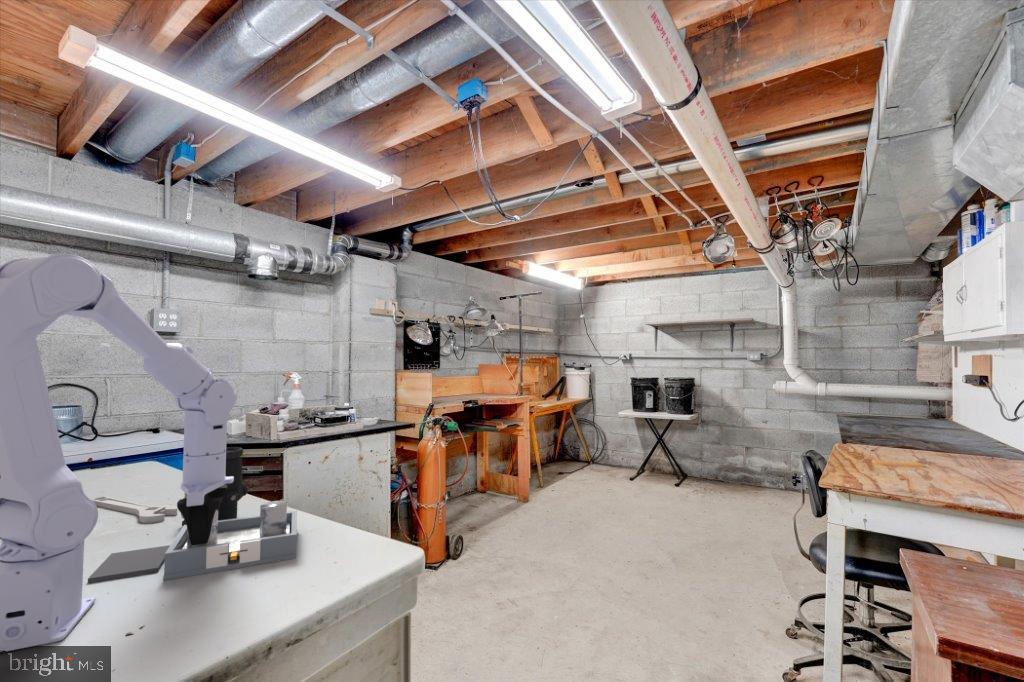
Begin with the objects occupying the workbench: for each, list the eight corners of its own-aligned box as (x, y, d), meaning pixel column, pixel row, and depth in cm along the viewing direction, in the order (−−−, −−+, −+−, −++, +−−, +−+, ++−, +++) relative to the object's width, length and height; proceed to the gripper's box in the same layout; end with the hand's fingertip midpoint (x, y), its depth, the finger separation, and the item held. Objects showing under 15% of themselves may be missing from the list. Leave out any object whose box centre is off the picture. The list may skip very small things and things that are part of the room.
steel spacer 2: (285, 536, 75) (286, 506, 76) (258, 540, 74) (259, 509, 74) (286, 528, 79) (287, 499, 79) (260, 532, 77) (261, 502, 77)
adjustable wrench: (87, 506, 97) (88, 498, 97) (124, 498, 103) (124, 490, 103) (147, 526, 86) (148, 517, 86) (185, 516, 91) (185, 507, 92)
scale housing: (296, 558, 72) (296, 535, 72) (163, 580, 65) (164, 554, 65) (296, 529, 84) (296, 510, 84) (183, 545, 76) (184, 524, 76)
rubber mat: (157, 571, 67) (158, 567, 67) (87, 582, 64) (87, 578, 64) (172, 548, 75) (173, 544, 75) (111, 557, 72) (111, 553, 72)
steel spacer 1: (215, 547, 71) (216, 515, 71) (184, 551, 69) (185, 518, 70) (219, 537, 75) (220, 507, 75) (189, 541, 73) (190, 510, 73)
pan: (288, 551, 71) (288, 546, 71) (172, 570, 65) (172, 564, 65) (289, 526, 82) (289, 522, 82) (190, 540, 75) (190, 535, 75)
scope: (182, 452, 86) (238, 444, 94) (179, 526, 85) (236, 511, 93) (199, 457, 81) (257, 449, 89) (196, 536, 80) (255, 520, 89)
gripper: (228, 459, 68) (225, 551, 67) (239, 442, 81) (237, 519, 80) (170, 464, 65) (167, 560, 64) (191, 445, 78) (189, 525, 77)
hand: (202, 538), depth 72 cm, fingers closed on steel spacer 1, 4 cm apart
